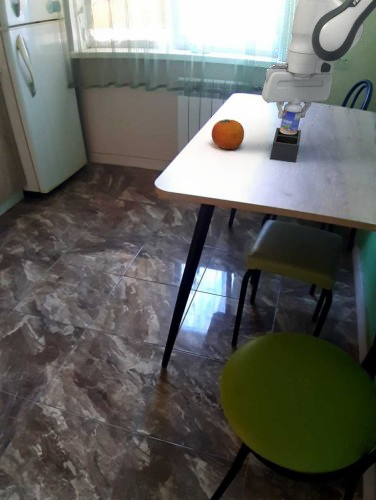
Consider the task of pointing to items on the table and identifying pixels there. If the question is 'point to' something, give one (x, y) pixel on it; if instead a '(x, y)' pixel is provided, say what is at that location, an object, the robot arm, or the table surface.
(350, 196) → the table surface
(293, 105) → the pill bottle
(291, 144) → the open box
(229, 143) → the fruit
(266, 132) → the table surface
